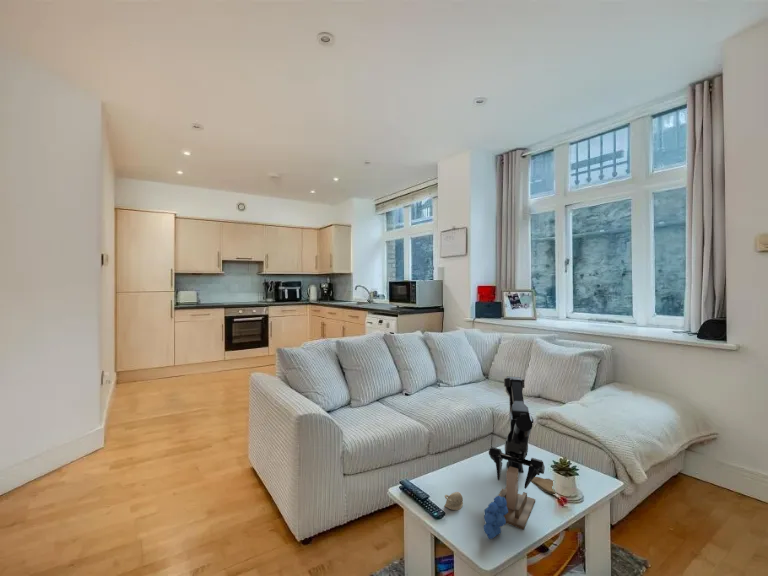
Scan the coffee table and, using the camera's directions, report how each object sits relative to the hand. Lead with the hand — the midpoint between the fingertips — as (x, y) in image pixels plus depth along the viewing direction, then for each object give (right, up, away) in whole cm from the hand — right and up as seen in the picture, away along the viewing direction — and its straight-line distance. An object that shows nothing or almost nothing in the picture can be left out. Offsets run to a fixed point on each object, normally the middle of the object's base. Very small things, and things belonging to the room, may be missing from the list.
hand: (511, 484), depth 128 cm
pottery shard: (+20, -10, +15) cm, 27 cm away
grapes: (-10, -10, -11) cm, 18 cm away
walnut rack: (+1, -10, +1) cm, 10 cm away
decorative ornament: (-20, -10, +2) cm, 22 cm away
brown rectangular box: (+1, -9, +1) cm, 9 cm away
